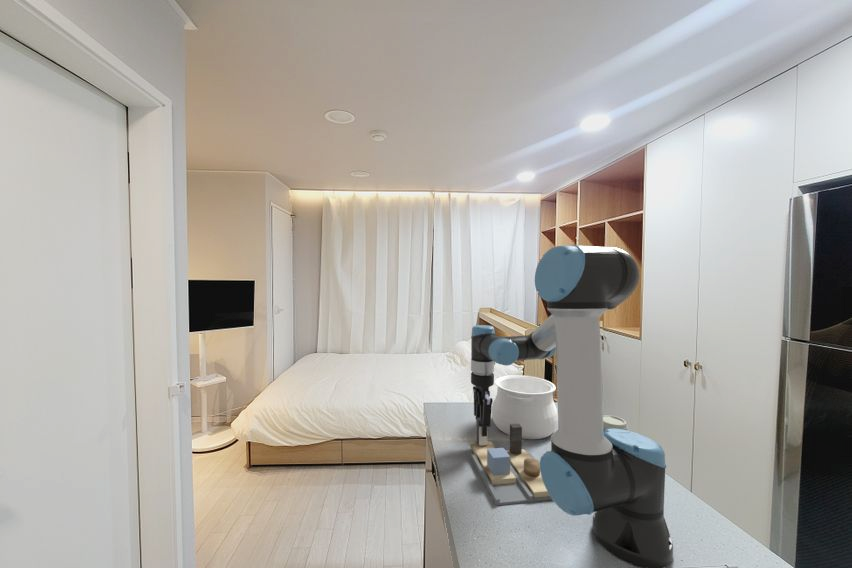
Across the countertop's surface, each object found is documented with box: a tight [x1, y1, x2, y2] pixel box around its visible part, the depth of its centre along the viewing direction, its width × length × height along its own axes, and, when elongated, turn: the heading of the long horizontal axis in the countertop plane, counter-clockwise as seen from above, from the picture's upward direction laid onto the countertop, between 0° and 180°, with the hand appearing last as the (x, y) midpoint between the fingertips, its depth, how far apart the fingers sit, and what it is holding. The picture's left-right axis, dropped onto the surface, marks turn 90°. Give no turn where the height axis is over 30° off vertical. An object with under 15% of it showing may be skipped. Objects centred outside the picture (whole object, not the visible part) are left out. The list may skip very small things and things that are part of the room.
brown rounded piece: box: [524, 458, 540, 477], centre depth 97 cm, size 4×4×3 cm
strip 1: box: [469, 416, 516, 485], centre depth 104 cm, size 21×7×10 cm, turn 9°
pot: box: [491, 374, 558, 440], centre depth 130 cm, size 26×24×17 cm
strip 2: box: [506, 424, 550, 498], centre depth 99 cm, size 21×7×10 cm, turn 9°
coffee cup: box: [603, 414, 629, 432], centre depth 110 cm, size 8×8×12 cm
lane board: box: [470, 449, 553, 506], centre depth 98 cm, size 22×19×2 cm
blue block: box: [487, 447, 510, 475], centre depth 98 cm, size 5×5×5 cm
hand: (481, 442), depth 113 cm, fingers closed on strip 1, 2 cm apart
